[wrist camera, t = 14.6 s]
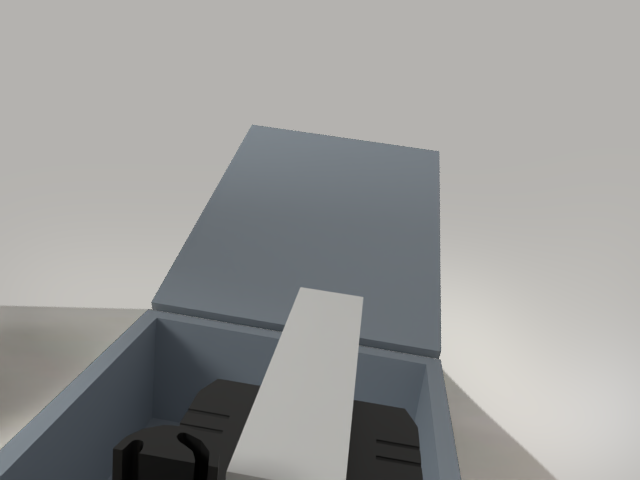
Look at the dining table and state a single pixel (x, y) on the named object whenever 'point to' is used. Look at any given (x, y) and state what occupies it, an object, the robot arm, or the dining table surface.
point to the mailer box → (187, 380)
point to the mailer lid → (318, 238)
